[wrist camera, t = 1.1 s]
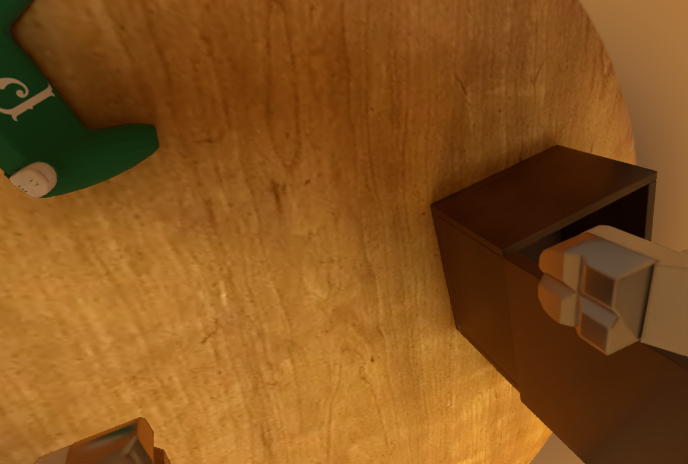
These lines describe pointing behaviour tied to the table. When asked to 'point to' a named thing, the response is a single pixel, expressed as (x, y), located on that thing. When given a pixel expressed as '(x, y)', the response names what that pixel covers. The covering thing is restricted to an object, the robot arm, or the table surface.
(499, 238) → the chest
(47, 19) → the table surface
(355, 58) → the table surface
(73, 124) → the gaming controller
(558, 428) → the lid
